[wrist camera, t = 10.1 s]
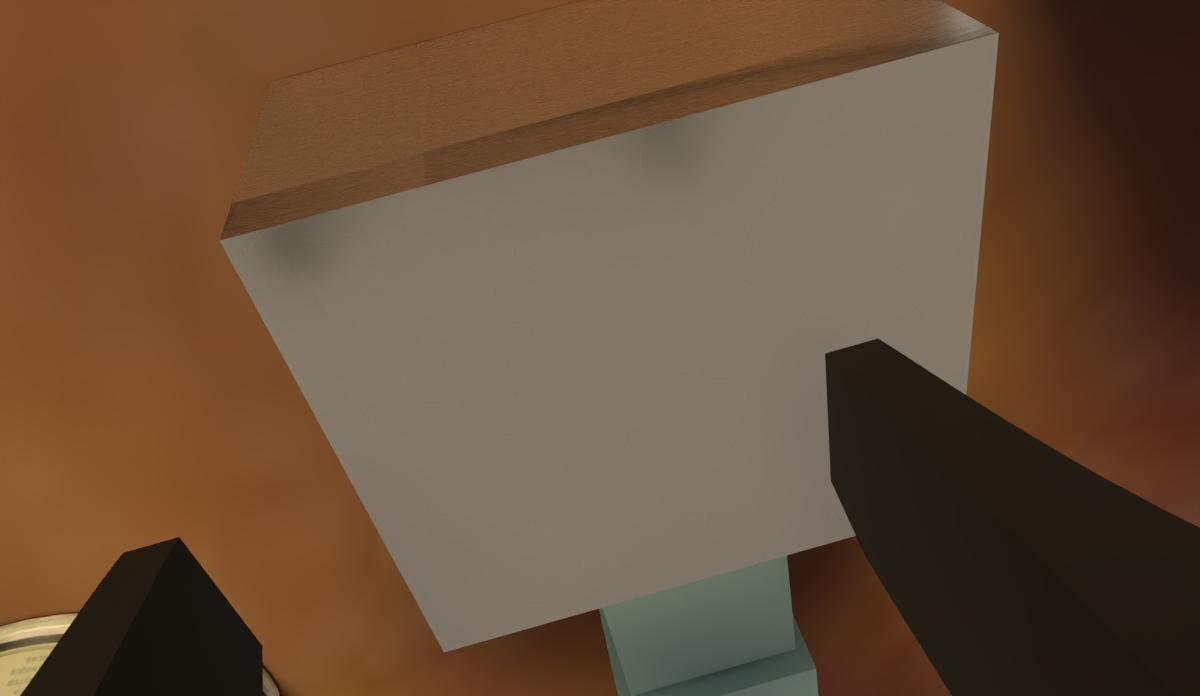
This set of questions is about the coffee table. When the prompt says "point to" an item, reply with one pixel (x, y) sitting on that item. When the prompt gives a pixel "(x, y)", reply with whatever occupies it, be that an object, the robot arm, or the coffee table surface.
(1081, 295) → the coffee table surface
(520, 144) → the housing
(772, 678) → the end cover
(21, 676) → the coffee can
